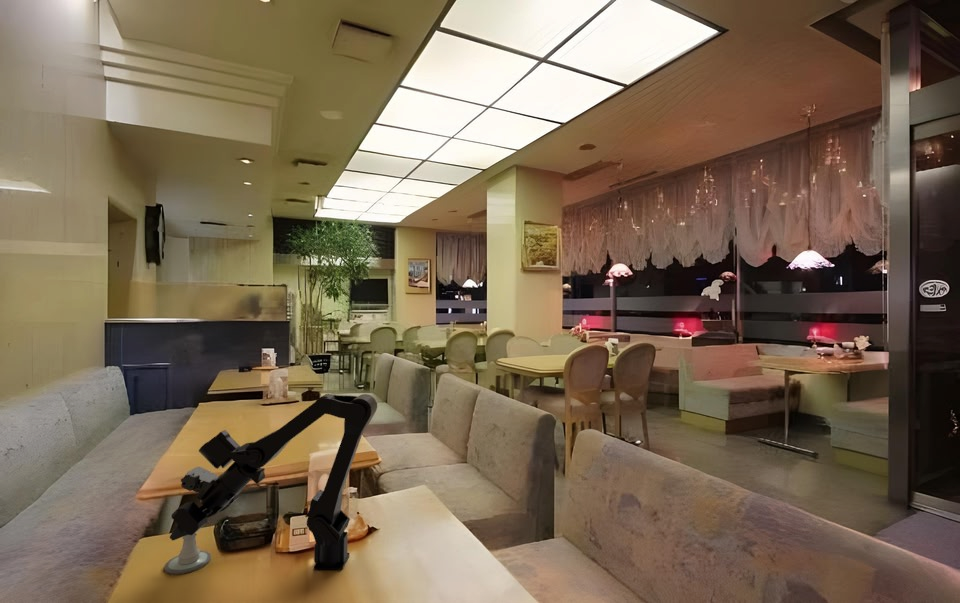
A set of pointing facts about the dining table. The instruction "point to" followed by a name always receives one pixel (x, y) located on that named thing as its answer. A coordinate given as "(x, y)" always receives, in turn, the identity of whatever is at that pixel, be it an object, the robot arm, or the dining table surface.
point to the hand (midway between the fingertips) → (182, 530)
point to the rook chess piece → (189, 550)
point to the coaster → (177, 568)
